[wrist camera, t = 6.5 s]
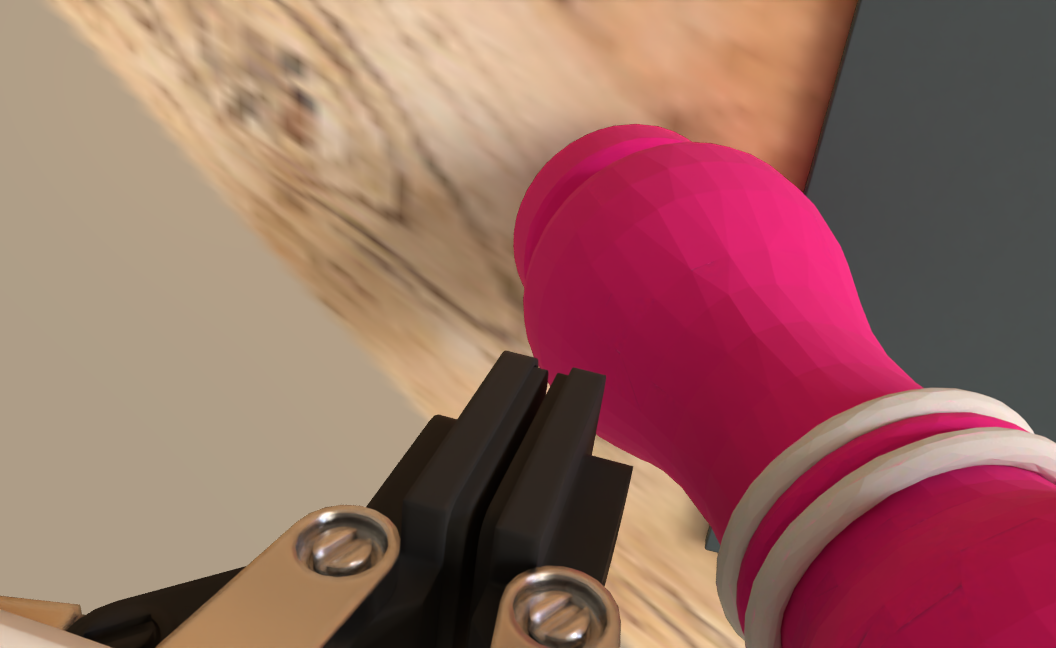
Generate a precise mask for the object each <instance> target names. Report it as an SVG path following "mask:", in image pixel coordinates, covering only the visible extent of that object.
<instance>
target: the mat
mask: <svg viewBox="0 0 1056 648" xmlns="http://www.w3.org/2000/svg"><path fill="white" fill-rule="evenodd" d="M804 195H805V196H806V197H807V198H808V199H809V200H810V201H811V202H812V203H813V204H814V205H815V206H816V208H817V209H818V211H819V212H820V214H821V216H822V217H823V219H824V220H825V222H826V223H827V225H828V227H829V228H830V230H831V231H832V233H833V235H834V236H835V238H836V240H837V241H838V243H839V244H840V246H841V248H842V251H843V253H844V256H845V258H846V261H847V263H848V266H849V269H850V272H851V275H852V278H853V281H854V284H855V287H856V290H857V294H858V297H859V300H860V303H861V306H862V308H863V311H864V313H865V316H866V318H867V321H868V323H869V326H870V328H871V331H872V333H873V334H874V336H875V337H876V339H877V340H878V342H879V343H880V345H881V346H882V348H883V349H884V351H885V352H886V354H887V355H888V356H889V357H890V358H891V359H892V360H893V361H894V362H895V363H896V364H897V365H898V366H899V367H900V368H901V369H902V370H903V371H904V372H905V373H906V374H907V375H908V376H909V377H910V378H912V379H913V380H914V381H915V382H916V383H917V384H919V385H920V386H922V387H923V388H956V389H961V390H966V391H971V392H976V393H979V394H982V395H985V396H988V397H991V398H993V399H996V400H998V401H1000V402H1002V403H1004V404H1005V405H1007V406H1008V407H1009V408H1011V409H1012V410H1014V411H1015V412H1016V413H1018V414H1019V415H1020V416H1021V417H1022V418H1023V419H1024V420H1025V421H1026V422H1027V424H1028V425H1029V426H1030V428H1031V429H1032V430H1033V432H1034V434H1036V435H1040V436H1043V437H1046V438H1048V439H1049V440H1051V441H1053V442H1055V443H1056V0H858V2H857V6H856V9H855V13H854V16H853V20H852V24H851V27H850V31H849V34H848V38H847V41H846V45H845V48H844V52H843V55H842V59H841V62H840V66H839V70H838V73H837V77H836V80H835V84H834V87H833V91H832V94H831V98H830V101H829V105H828V109H827V112H826V116H825V119H824V123H823V126H822V130H821V133H820V137H819V140H818V144H817V148H816V151H815V155H814V158H813V162H812V165H811V169H810V172H809V176H808V179H807V183H806V187H805V190H804ZM705 549H706V550H709V551H713V552H717V553H719V549H720V544H719V542H718V540H717V538H716V536H715V534H714V532H713V530H712V528H711V526H710V527H709V530H708V534H707V537H706V542H705Z"/></svg>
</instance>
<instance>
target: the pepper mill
mask: <svg viewBox="0 0 1056 648" xmlns="http://www.w3.org/2000/svg"><path fill="white" fill-rule="evenodd" d="M513 247H514V258H515V263H516V267H517V271H518V274H519V277H520V279H521V282H522V284H523V286H524V288H525V289H524V297H523V305H524V321H525V327H526V332H527V338H528V341H529V344H530V347H531V350H532V353H533V355H534V358H538V365H539V367H540V368H541V369H545V370H548V372H549V375H548V383H549V385H550V386H551V384H552V382H553V380H554V378H555V376H556V375H557V373H562V374H566V375H569V373H570V371H571V369H572V367H574V368H579V369H583V370H587V371H591V372H595V373H599V374H603V375H606V383H605V389H604V394H603V399H602V404H601V409H600V414H599V420H598V425H597V430H596V434H597V435H598V436H599V437H601V438H603V439H604V440H606V441H608V442H609V443H611V444H613V445H614V446H616V447H618V448H620V449H622V450H624V451H626V452H628V453H630V454H631V455H633V456H635V457H637V458H639V459H641V460H644V461H646V462H649V463H651V464H653V465H654V466H656V467H658V468H659V469H661V470H663V471H664V472H665V473H666V474H668V475H669V476H670V477H671V478H672V479H673V480H674V481H675V482H676V483H677V484H679V485H680V486H681V487H682V488H683V490H684V491H685V492H686V494H687V495H688V496H689V498H690V499H691V500H692V502H693V503H694V505H695V506H696V507H697V509H698V510H699V511H700V513H701V514H702V515H703V517H704V518H705V519H706V521H707V522H708V523H709V525H710V526H711V528H712V530H713V532H714V534H715V536H716V538H717V540H718V542H719V544H720V549H719V553H718V557H717V571H716V586H717V591H718V596H719V599H720V602H721V605H722V608H723V611H724V613H725V616H726V618H727V620H728V621H729V623H730V624H731V626H732V627H733V629H734V630H735V632H736V633H737V634H738V635H739V636H740V637H741V638H742V639H743V640H745V646H746V648H1056V443H1055V442H1053V441H1051V440H1049V439H1048V438H1046V437H1043V436H1040V435H1036V434H1034V432H1033V430H1032V429H1031V428H1030V426H1029V425H1028V424H1027V422H1026V421H1025V420H1024V419H1023V418H1022V417H1021V416H1020V415H1019V414H1018V413H1016V412H1015V411H1014V410H1012V409H1011V408H1009V407H1008V406H1007V405H1005V404H1004V403H1002V402H1000V401H998V400H996V399H993V398H991V397H988V396H985V395H982V394H979V393H976V392H971V391H966V390H961V389H956V388H923V387H922V386H920V385H919V384H917V383H916V382H915V381H914V380H913V379H912V378H910V377H909V376H908V375H907V374H906V373H905V372H904V371H903V370H902V369H901V368H900V367H899V366H898V365H897V364H896V363H895V362H894V361H893V360H892V359H891V358H890V357H889V356H888V355H887V354H886V352H885V351H884V349H883V348H882V346H881V345H880V343H879V342H878V340H877V339H876V337H875V336H874V334H873V333H872V331H871V328H870V326H869V323H868V321H867V318H866V316H865V313H864V311H863V308H862V306H861V303H860V300H859V297H858V294H857V290H856V287H855V284H854V281H853V278H852V275H851V272H850V269H849V266H848V263H847V261H846V258H845V256H844V253H843V251H842V248H841V246H840V244H839V243H838V241H837V240H836V238H835V236H834V235H833V233H832V231H831V230H830V228H829V227H828V225H827V223H826V222H825V220H824V219H823V217H822V216H821V214H820V212H819V211H818V209H817V208H816V206H815V205H814V204H813V203H812V202H811V201H810V200H809V199H808V198H807V197H806V196H805V195H804V194H803V193H802V192H801V191H800V190H799V189H798V188H797V187H796V186H795V185H793V184H792V183H791V182H790V181H789V180H787V179H786V178H785V177H784V176H783V175H781V174H780V173H779V172H778V171H777V170H775V169H774V168H773V167H772V166H771V165H769V164H767V163H765V162H763V161H762V160H760V159H758V158H756V157H755V156H753V155H751V154H748V153H745V152H742V151H739V150H736V149H733V148H730V147H726V146H722V145H717V144H712V143H698V142H691V141H690V140H688V139H687V138H685V137H683V136H681V135H679V134H678V133H676V132H674V131H671V130H668V129H665V128H662V127H658V126H650V125H641V124H629V125H617V126H611V127H607V128H604V129H600V130H597V131H595V132H592V133H590V134H587V135H585V136H583V137H582V138H580V139H578V140H576V141H574V142H572V143H570V144H569V145H568V146H566V147H565V148H564V149H562V150H561V151H560V152H558V153H557V154H556V155H555V156H554V157H553V158H552V159H551V160H549V161H548V162H547V163H546V164H545V166H544V167H543V168H542V169H541V171H540V172H539V173H538V174H537V175H536V177H535V179H534V180H533V182H532V183H531V185H530V186H529V188H528V190H527V192H526V194H525V196H524V198H523V200H522V203H521V205H520V208H519V211H518V214H517V218H516V223H515V229H514V245H513Z"/></svg>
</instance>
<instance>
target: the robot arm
mask: <svg viewBox="0 0 1056 648" xmlns="http://www.w3.org/2000/svg"><path fill="white" fill-rule="evenodd" d="M548 375H549V372H548V370H545V369H541V368H538V358H534V357H530V356H525V355H521V354H517V353H513V352H509V351H504V352H503V353H502V354H501V356H500V357H499V359H498V360H497V362H496V363H495V365H494V366H493V368H492V369H491V371H490V372H489V373H488V375H487V376H486V378H485V379H484V381H483V382H482V384H481V385H480V387H479V388H478V390H477V391H476V393H475V394H474V396H473V397H472V399H471V400H470V401H469V403H468V404H467V406H466V407H465V409H464V410H463V412H462V413H461V415H460V416H459V418H458V419H453V418H449V417H446V416H442V415H435V416H434V417H433V418H432V419H431V420H430V421H429V422H428V424H427V425H426V426H425V428H424V429H423V430H422V432H421V433H420V435H419V436H418V437H417V439H416V440H415V441H414V443H413V444H412V445H411V447H410V448H409V450H408V451H407V452H406V454H405V455H404V456H403V458H402V459H401V460H400V462H399V463H398V464H397V466H396V467H395V468H394V470H393V471H392V473H391V474H390V476H389V477H388V478H387V479H386V481H385V482H384V483H383V485H382V486H381V487H380V489H379V490H378V492H377V493H376V494H375V496H374V497H373V498H372V500H371V501H370V502H369V504H368V505H367V507H363V506H356V505H338V506H331V507H325V508H322V509H320V510H317V511H314V512H311V513H309V514H308V515H306V516H305V517H303V518H302V519H300V520H299V521H297V522H296V523H295V524H294V525H292V526H291V527H290V528H289V529H288V530H287V531H286V532H285V533H283V534H282V535H281V536H280V537H279V538H278V539H277V540H276V541H274V542H273V543H272V544H271V545H270V546H269V547H268V548H267V549H266V550H264V551H263V552H262V553H261V554H260V555H259V556H258V557H256V558H255V559H254V560H253V561H252V562H251V563H250V564H249V565H247V566H245V567H241V568H238V569H234V570H230V571H227V572H223V573H219V574H215V575H212V576H209V577H204V578H201V579H197V580H193V581H190V582H186V583H182V584H178V585H175V586H171V587H167V588H164V589H160V590H157V591H152V592H149V593H145V594H142V595H138V596H134V597H130V598H127V599H123V600H119V601H116V602H113V603H110V604H108V605H105V606H103V607H100V608H97V609H95V610H93V611H92V612H90V613H88V614H87V615H82V613H81V607H80V605H78V604H69V603H60V602H51V601H42V600H33V599H24V598H15V597H6V596H0V648H620V632H621V620H620V614H619V608H618V605H617V604H616V602H615V600H614V598H613V597H612V595H611V593H610V592H609V591H608V590H607V589H606V588H605V587H604V586H605V583H606V579H607V575H608V571H609V567H610V563H611V560H612V556H613V552H614V548H615V544H616V540H617V536H618V531H619V527H620V523H621V519H622V515H623V510H624V506H625V502H626V497H627V493H628V488H629V484H630V479H631V475H632V470H633V466H629V465H626V464H622V463H618V462H614V461H611V460H607V459H603V458H599V457H596V456H592V451H593V446H594V440H595V435H596V430H597V425H598V420H599V414H600V409H601V404H602V399H603V394H604V389H605V383H606V375H603V374H599V373H595V372H591V371H587V370H583V369H579V368H574V367H572V369H571V371H570V373H569V375H566V374H562V373H557V375H556V376H555V378H554V380H553V382H552V384H551V386H550V388H549V390H548V392H547V394H546V390H547V383H548Z"/></svg>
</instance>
